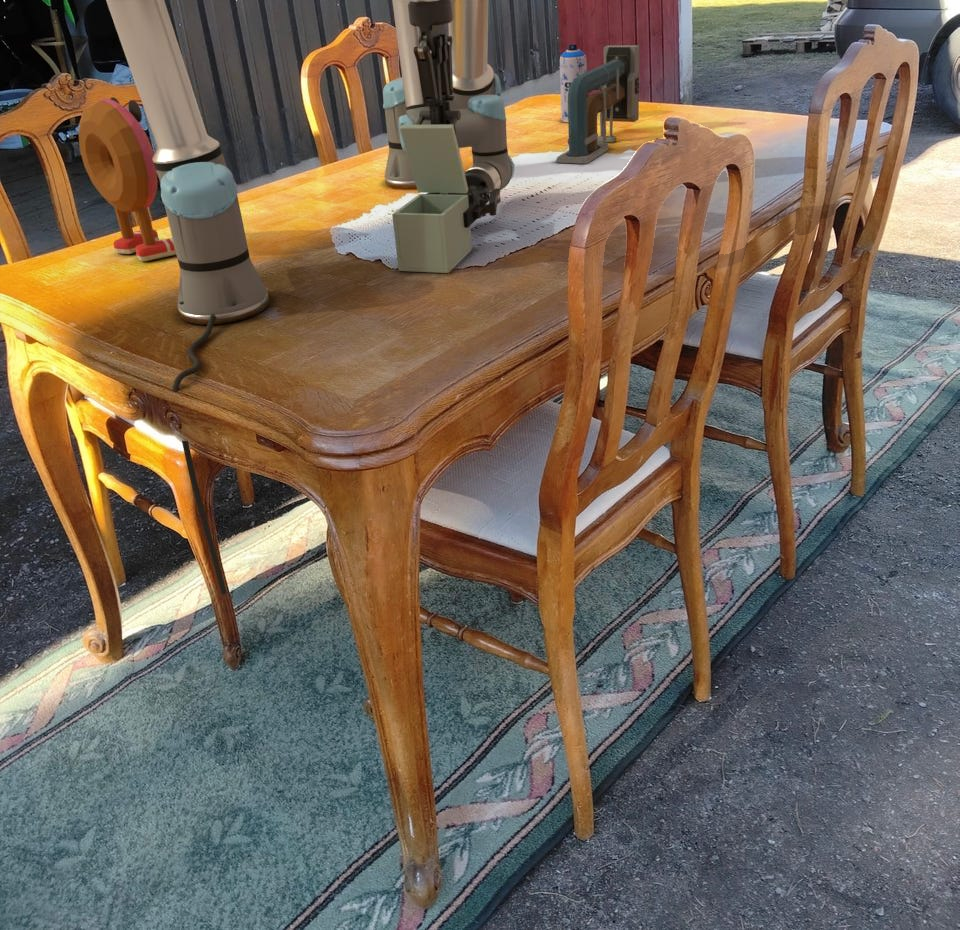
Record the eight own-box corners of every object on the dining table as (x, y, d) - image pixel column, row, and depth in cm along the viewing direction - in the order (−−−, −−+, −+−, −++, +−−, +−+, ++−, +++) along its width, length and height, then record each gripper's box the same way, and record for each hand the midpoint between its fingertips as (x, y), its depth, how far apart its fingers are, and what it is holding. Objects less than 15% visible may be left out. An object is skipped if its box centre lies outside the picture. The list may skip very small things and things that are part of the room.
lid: (451, 128, 167) (464, 101, 172) (399, 128, 170) (413, 101, 175) (466, 193, 178) (478, 166, 182) (417, 192, 181) (430, 166, 185)
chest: (448, 273, 173) (443, 215, 168) (398, 270, 176) (391, 213, 171) (472, 249, 184) (467, 194, 179) (424, 248, 187) (419, 193, 182)
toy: (199, 253, 194) (163, 96, 179) (154, 268, 188) (113, 106, 173) (144, 236, 207) (106, 89, 192) (101, 250, 201) (58, 98, 186)
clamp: (586, 163, 233) (584, 69, 222) (553, 162, 237) (550, 69, 226) (638, 131, 258) (639, 45, 248) (607, 130, 262) (607, 45, 251)
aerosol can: (559, 122, 275) (557, 47, 265) (562, 117, 282) (559, 42, 272) (587, 121, 274) (585, 45, 263) (589, 115, 280) (587, 41, 270)
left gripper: (424, -5, 172) (437, 131, 184) (392, 5, 160) (408, 150, 172) (464, -8, 170) (474, 131, 182) (434, 2, 158) (448, 150, 170)
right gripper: (530, 206, 196) (497, 241, 178) (427, 204, 203) (386, 237, 185) (528, 168, 192) (495, 200, 174) (424, 167, 199) (381, 198, 181)
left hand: (442, 140), depth 177 cm, fingers closed on lid, 2 cm apart
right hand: (439, 219), depth 179 cm, fingers closed on chest, 10 cm apart
